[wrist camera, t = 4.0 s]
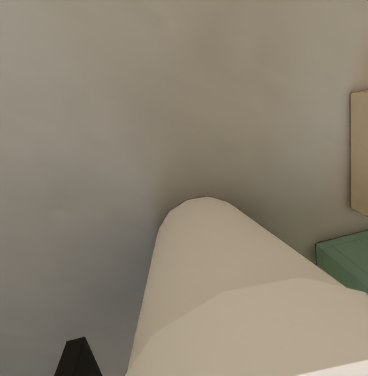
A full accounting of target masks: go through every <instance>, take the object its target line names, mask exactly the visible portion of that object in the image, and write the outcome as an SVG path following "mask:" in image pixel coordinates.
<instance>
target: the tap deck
mask: <svg viewBox="0 0 368 376" xmlns="http://www.w3.org/2000/svg"><path fill="white" fill-rule="evenodd" d="M351 208H352V209H354V210H356V211H358V212H360V213H361V214H363V215H365V216H367V217H368V89H367V90H363V91H359V92H355V93H351Z"/></svg>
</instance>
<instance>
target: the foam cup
mask: <svg viewBox="0 0 368 376" xmlns="http://www.w3.org/2000/svg"><path fill="white" fill-rule="evenodd" d="M125 376H368V295H367V294H366V293H365V292H362V291H358V290H354V289H349V288H346V287H345V286H344V285H342V284H341V283H339V282H338V281H337V280H335V279H334V278H333V277H331V276H330V275H328V274H327V273H326V272H324V271H323V270H321V269H320V268H319V267H317V266H316V265H314V264H313V263H312V262H310V261H309V260H308V259H306V258H305V257H303V256H302V255H301V254H299V253H298V252H296V251H295V250H294V249H292V248H291V247H290V246H288V245H287V244H285V243H284V242H283V241H281V240H280V239H278V238H277V237H276V236H274V235H273V234H272V233H270V232H269V231H267V230H266V229H265V228H263V227H262V226H260V225H259V224H258V223H256V222H255V221H253V220H252V219H251V218H249V217H248V216H247V215H245V214H244V213H242V212H241V211H240V210H238V209H237V208H235V207H234V206H233V205H231V204H229V203H228V202H225V201H222V200H218V199H215V198H211V197H203V198H197V199H190V200H187V201H185V202H183V203H182V204H180V205H179V206H177V207H176V208H174V209H173V210H171V211H170V212H169V213H168V215H167V216H166V218H165V220H164V221H163V223H162V224H161V226H160V228H159V231H158V234H157V238H156V243H155V247H154V252H153V256H152V261H151V265H150V270H149V275H148V279H147V284H146V288H145V293H144V297H143V302H142V306H141V311H140V316H139V320H138V325H137V329H136V334H135V338H134V343H133V347H132V352H131V357H130V361H129V366H128V370H127V373H126V375H125Z"/></svg>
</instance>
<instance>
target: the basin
mask: <svg viewBox="0 0 368 376" xmlns="http://www.w3.org/2000/svg"><path fill="white" fill-rule="evenodd" d="M316 258H317V267H319V268H320V269H321V270H323V271H324V272H326V273H327V274H328V275H330V276H331V277H333V278H334V279H335V280H337V281H338V282H339V283H341V284H342V285H344V286H345V287H346V288H349V289H354V290H358V291H362V292H365V293H366V294H367V295H368V230H367V231H363V232H359V233H355V234H352V235H348V236H344V237H340V238H336V239H332V240H328V241H325V242H321V243H317V244H316Z"/></svg>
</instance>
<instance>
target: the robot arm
mask: <svg viewBox="0 0 368 376" xmlns="http://www.w3.org/2000/svg"><path fill="white" fill-rule="evenodd" d="M54 376H102V374H101V371H100V369H99V367H98V365H97V362H96V360H95V358H94V356H93V353H92V351H91V349H90V347H89V344H88V342H87V340H86V338H85V337H82V338H78V339H74V340H70V341H67V342H66V345H65V348H64V350H63V353H62V356H61V359H60V361H59V364H58V367H57V370H56V372H55V375H54Z"/></svg>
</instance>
